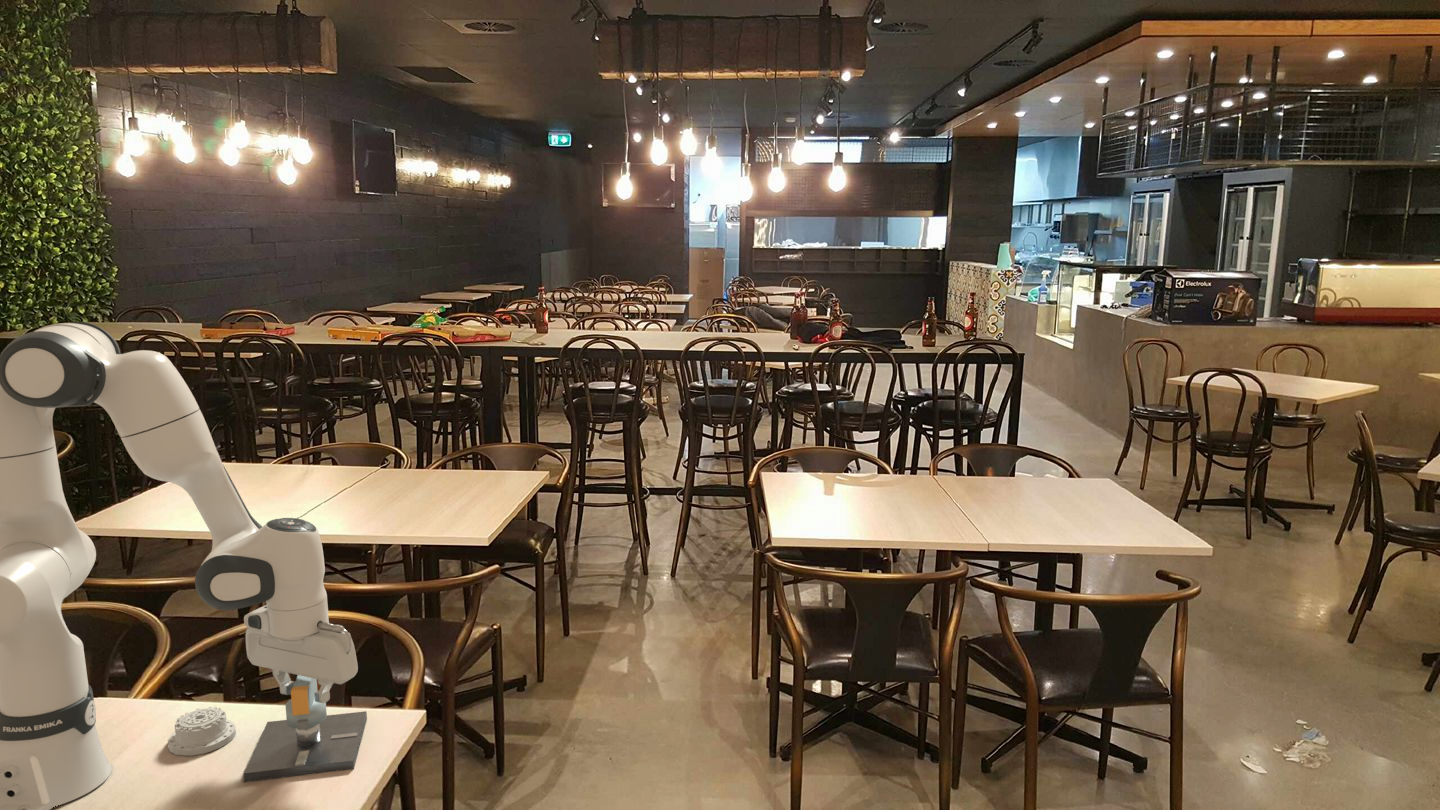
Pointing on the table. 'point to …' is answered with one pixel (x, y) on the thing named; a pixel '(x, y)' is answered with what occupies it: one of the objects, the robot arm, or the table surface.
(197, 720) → the mechanical component
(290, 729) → the post plate
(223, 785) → the table surface
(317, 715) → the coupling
